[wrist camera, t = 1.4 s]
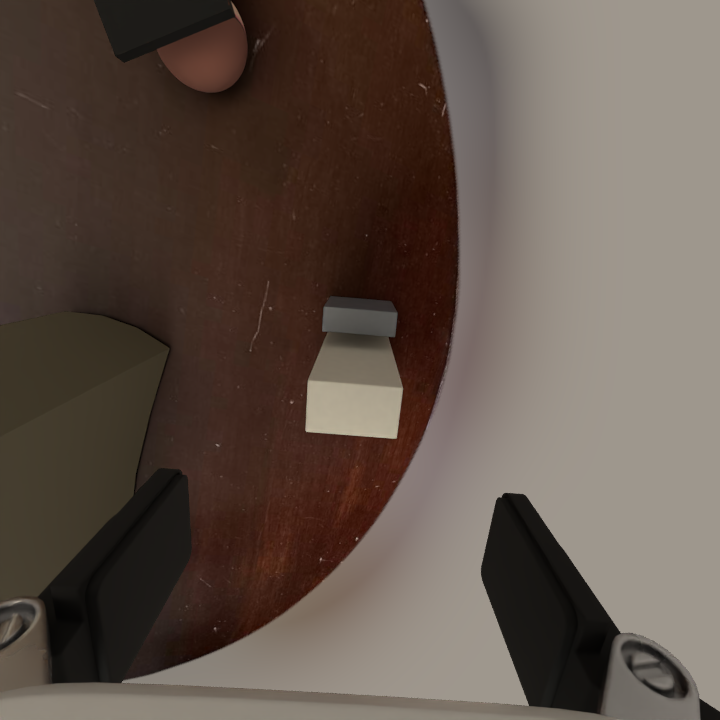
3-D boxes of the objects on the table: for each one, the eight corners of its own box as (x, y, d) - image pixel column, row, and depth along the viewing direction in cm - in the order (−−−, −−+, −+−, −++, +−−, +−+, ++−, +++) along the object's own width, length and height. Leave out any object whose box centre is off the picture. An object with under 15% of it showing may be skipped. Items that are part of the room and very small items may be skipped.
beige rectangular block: (328, 329, 28) (307, 379, 17) (388, 335, 28) (403, 387, 18) (326, 364, 29) (305, 432, 18) (384, 369, 29) (396, 439, 18)
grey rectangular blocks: (330, 295, 27) (323, 306, 22) (391, 301, 27) (398, 312, 22) (324, 395, 30) (317, 423, 25) (380, 399, 30) (384, 429, 25)
